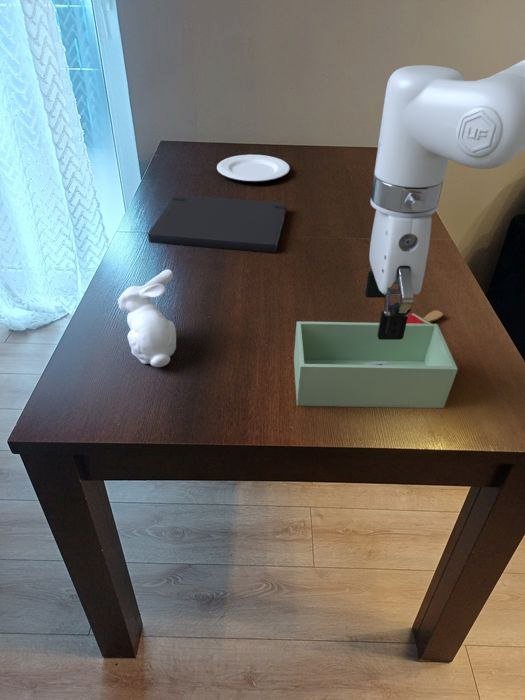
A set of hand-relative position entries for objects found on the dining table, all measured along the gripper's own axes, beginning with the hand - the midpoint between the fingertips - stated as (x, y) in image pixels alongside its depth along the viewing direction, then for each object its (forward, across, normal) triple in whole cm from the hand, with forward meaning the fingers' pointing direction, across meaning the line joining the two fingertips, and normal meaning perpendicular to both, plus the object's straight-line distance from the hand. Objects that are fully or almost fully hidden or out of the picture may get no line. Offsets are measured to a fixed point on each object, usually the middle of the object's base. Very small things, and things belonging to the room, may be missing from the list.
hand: (382, 316), depth 67 cm
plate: (+11, +87, +19) cm, 90 cm away
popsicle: (+13, +14, -10) cm, 21 cm away
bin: (+13, 0, +1) cm, 13 cm away
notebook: (+12, +53, +26) cm, 60 cm away
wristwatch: (+12, 0, +1) cm, 12 cm away
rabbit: (+12, +8, +34) cm, 37 cm away
